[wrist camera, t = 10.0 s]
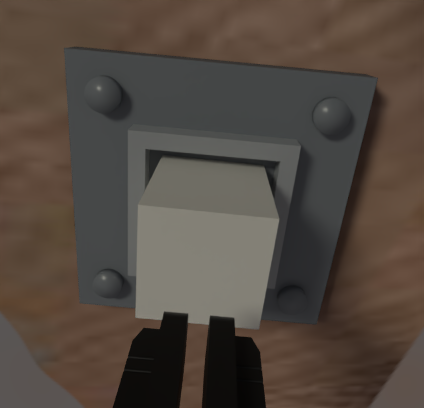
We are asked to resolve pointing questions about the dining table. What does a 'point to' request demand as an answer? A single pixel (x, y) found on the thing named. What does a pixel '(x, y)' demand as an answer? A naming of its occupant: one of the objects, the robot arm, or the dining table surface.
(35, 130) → the dining table surface
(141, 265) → the brick
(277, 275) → the baseplate
